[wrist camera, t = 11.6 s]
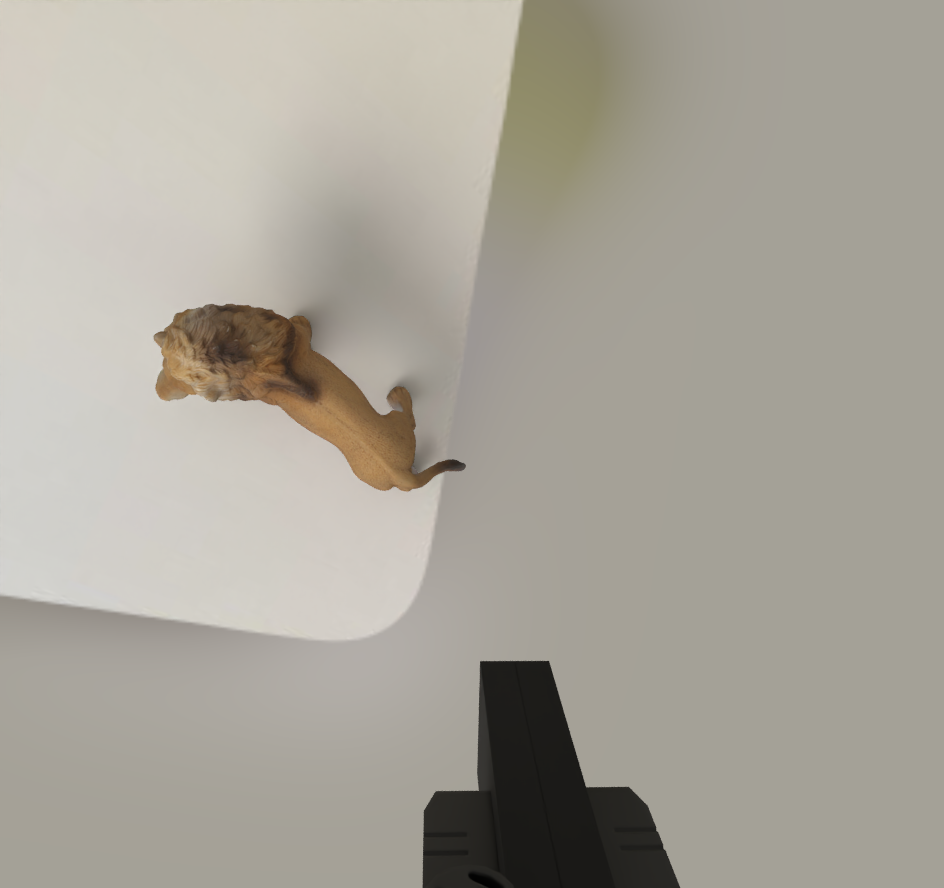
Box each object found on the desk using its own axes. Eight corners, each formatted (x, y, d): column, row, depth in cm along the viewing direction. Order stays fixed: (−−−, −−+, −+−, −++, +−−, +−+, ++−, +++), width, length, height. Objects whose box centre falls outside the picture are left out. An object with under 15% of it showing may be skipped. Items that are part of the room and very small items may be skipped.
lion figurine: (184, 365, 39) (112, 394, 30) (232, 271, 38) (173, 272, 30) (440, 505, 41) (442, 569, 33) (492, 418, 41) (508, 461, 32)
